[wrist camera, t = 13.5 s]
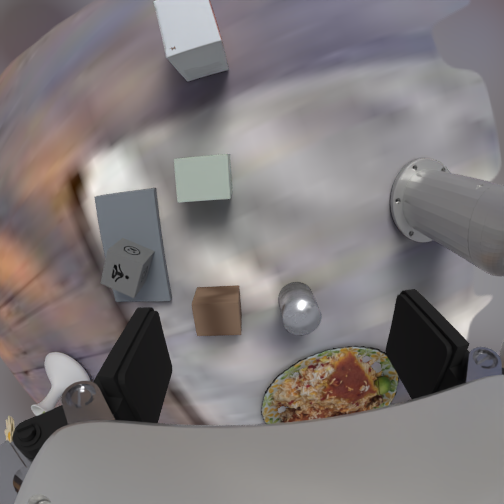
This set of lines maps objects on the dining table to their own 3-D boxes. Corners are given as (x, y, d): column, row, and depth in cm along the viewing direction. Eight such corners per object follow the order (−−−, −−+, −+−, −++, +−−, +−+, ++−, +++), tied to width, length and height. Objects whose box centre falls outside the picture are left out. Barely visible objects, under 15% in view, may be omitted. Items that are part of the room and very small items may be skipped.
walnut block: (239, 285, 41) (238, 302, 36) (241, 315, 43) (241, 334, 38) (197, 287, 41) (191, 304, 36) (201, 316, 43) (197, 335, 38)
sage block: (229, 153, 35) (227, 154, 30) (232, 192, 37) (230, 198, 32) (183, 157, 35) (173, 159, 30) (186, 195, 37) (177, 202, 32)
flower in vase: (73, 344, 45) (9, 440, 21) (104, 387, 48) (60, 485, 25) (36, 351, 46) (-23, 430, 22) (64, 390, 50) (20, 471, 26)
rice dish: (276, 335, 46) (278, 356, 41) (418, 342, 46) (429, 360, 41) (252, 432, 55) (251, 451, 50) (366, 432, 56) (371, 449, 50)
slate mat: (155, 187, 36) (153, 188, 35) (172, 297, 41) (170, 300, 41) (97, 195, 36) (94, 196, 35) (118, 298, 41) (115, 301, 41)
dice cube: (122, 237, 37) (107, 249, 33) (154, 251, 38) (142, 264, 33) (115, 268, 39) (100, 283, 34) (145, 281, 39) (134, 298, 35)
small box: (229, 70, 31) (223, 42, 21) (186, 82, 32) (165, 59, 22) (215, 22, 29) (205, -16, 19) (174, 34, 29) (152, 0, 19)
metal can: (312, 280, 41) (322, 301, 35) (311, 310, 43) (320, 333, 37) (278, 283, 41) (283, 304, 35) (278, 313, 43) (283, 336, 37)
